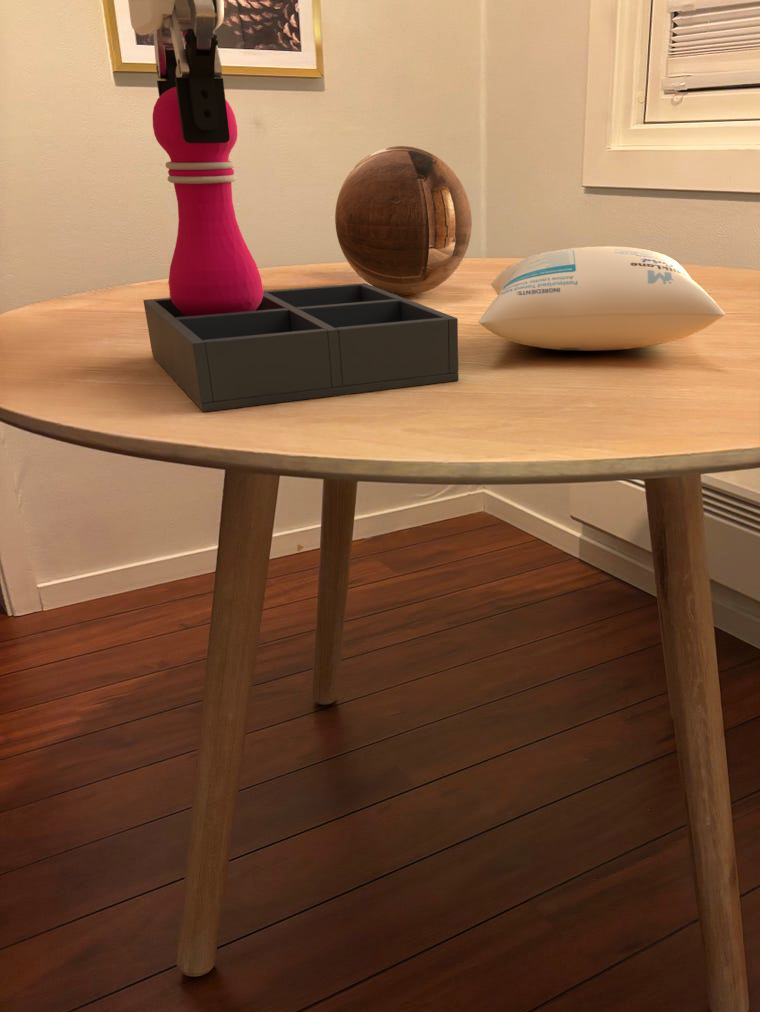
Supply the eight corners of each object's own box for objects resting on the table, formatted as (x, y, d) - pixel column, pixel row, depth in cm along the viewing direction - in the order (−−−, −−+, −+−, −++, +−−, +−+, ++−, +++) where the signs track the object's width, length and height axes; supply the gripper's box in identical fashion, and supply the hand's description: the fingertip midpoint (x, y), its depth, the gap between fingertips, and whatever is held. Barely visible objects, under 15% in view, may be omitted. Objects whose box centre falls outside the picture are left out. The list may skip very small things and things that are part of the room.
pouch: (491, 236, 89) (479, 254, 71) (694, 242, 89) (733, 262, 71) (488, 323, 93) (476, 361, 75) (684, 330, 92) (718, 370, 74)
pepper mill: (159, 349, 76) (112, 59, 67) (227, 334, 82) (192, 63, 72) (220, 360, 73) (179, 55, 63) (287, 344, 78) (259, 60, 68)
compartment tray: (202, 412, 64) (192, 343, 62) (152, 356, 80) (143, 299, 77) (458, 380, 72) (458, 318, 70) (368, 335, 87) (365, 283, 85)
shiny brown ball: (330, 287, 112) (319, 145, 105) (451, 281, 116) (449, 144, 109) (354, 308, 100) (343, 148, 93) (489, 300, 104) (489, 146, 96)
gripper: (79, -149, 67) (126, 140, 75) (115, -217, 53) (167, 145, 62) (187, -138, 69) (220, 139, 78) (247, -199, 56) (279, 144, 65)
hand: (196, 139), depth 70 cm, fingers closed on pepper mill, 6 cm apart
